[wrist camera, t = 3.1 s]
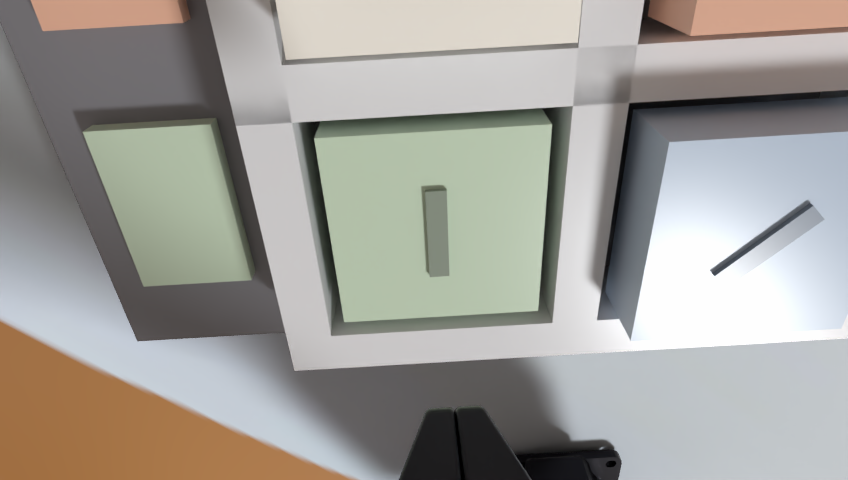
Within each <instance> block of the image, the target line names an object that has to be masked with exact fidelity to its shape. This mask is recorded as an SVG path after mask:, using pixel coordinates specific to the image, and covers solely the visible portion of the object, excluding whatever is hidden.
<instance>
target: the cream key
mask: <svg viewBox="0 0 848 480" xmlns="http://www.w3.org/2000/svg"><path fill="white" fill-rule="evenodd" d="M275 1H276V7H277V13H278V18H279V24H280V29H281V35H282V41H283V46H284V52H285V58H286V60H292V59H309V58H326V57H343V56H360V55H377V54H393V53H410V52H427V51H444V50H461V49H478V48H495V47H512V46H529V45H546V44H563V43H578V36H579V25H580V15H581V4H582V0H275Z"/></svg>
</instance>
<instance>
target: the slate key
mask: <svg viewBox="0 0 848 480" xmlns="http://www.w3.org/2000/svg"><path fill="white" fill-rule="evenodd" d="M605 292H606V294H607V296H608V298H609V300H610V302H611V304H612V306H613V308H614V310H615V312H616V314H617V316H618V318H619V320H620V322H621V323H622V325H623V327H624V329H625V331H626V333H627V335H628V337H629V339H630V341H641V340H658V339H675V338H692V337H709V336H726V335H743V334H760V333H777V332H794V331H810V330H827V329H841V328H842V326H843V324H844V321H845V319H846V317H847V315H848V97H837V98H820V99H803V100H786V101H769V102H752V103H735V104H718V105H701V106H684V107H667V108H650V109H633V115H632V122H631V128H630V135H629V141H628V148H627V154H626V161H625V167H624V174H623V180H622V187H621V193H620V200H619V206H618V213H617V219H616V226H615V232H614V239H613V245H612V252H611V258H610V265H609V271H608V278H607V284H606V291H605Z"/></svg>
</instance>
